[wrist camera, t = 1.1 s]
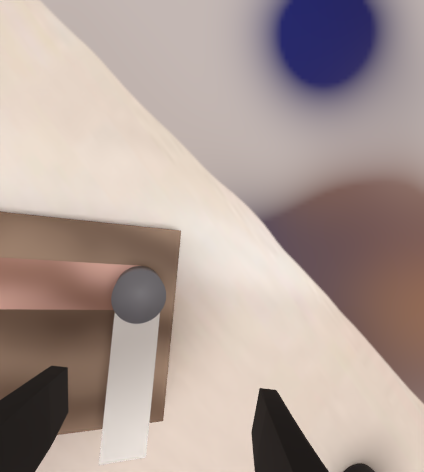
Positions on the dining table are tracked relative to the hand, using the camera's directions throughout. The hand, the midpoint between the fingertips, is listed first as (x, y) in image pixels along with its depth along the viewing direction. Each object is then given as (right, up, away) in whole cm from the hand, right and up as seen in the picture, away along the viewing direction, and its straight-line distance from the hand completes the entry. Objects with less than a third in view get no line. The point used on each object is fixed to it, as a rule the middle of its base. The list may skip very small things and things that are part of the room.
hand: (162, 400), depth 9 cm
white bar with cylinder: (-4, -3, +10) cm, 12 cm away
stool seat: (-10, -1, +11) cm, 15 cm away
